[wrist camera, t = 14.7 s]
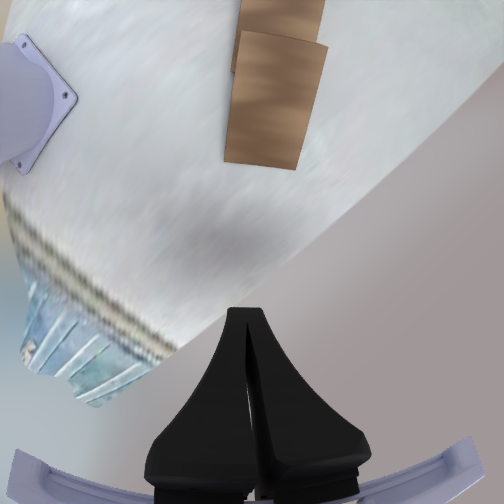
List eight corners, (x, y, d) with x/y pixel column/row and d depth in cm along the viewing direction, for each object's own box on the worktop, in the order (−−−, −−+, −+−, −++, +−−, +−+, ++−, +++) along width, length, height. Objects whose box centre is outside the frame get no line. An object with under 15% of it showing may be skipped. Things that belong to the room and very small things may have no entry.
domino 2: (223, 162, 16) (241, 30, 10) (225, 149, 17) (241, 29, 11) (295, 170, 17) (328, 47, 11) (291, 158, 18) (320, 44, 12)
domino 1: (230, 71, 13) (251, -48, 8) (231, 68, 14) (250, -42, 9) (306, 83, 14) (331, -32, 8) (301, 78, 15) (324, -28, 9)
